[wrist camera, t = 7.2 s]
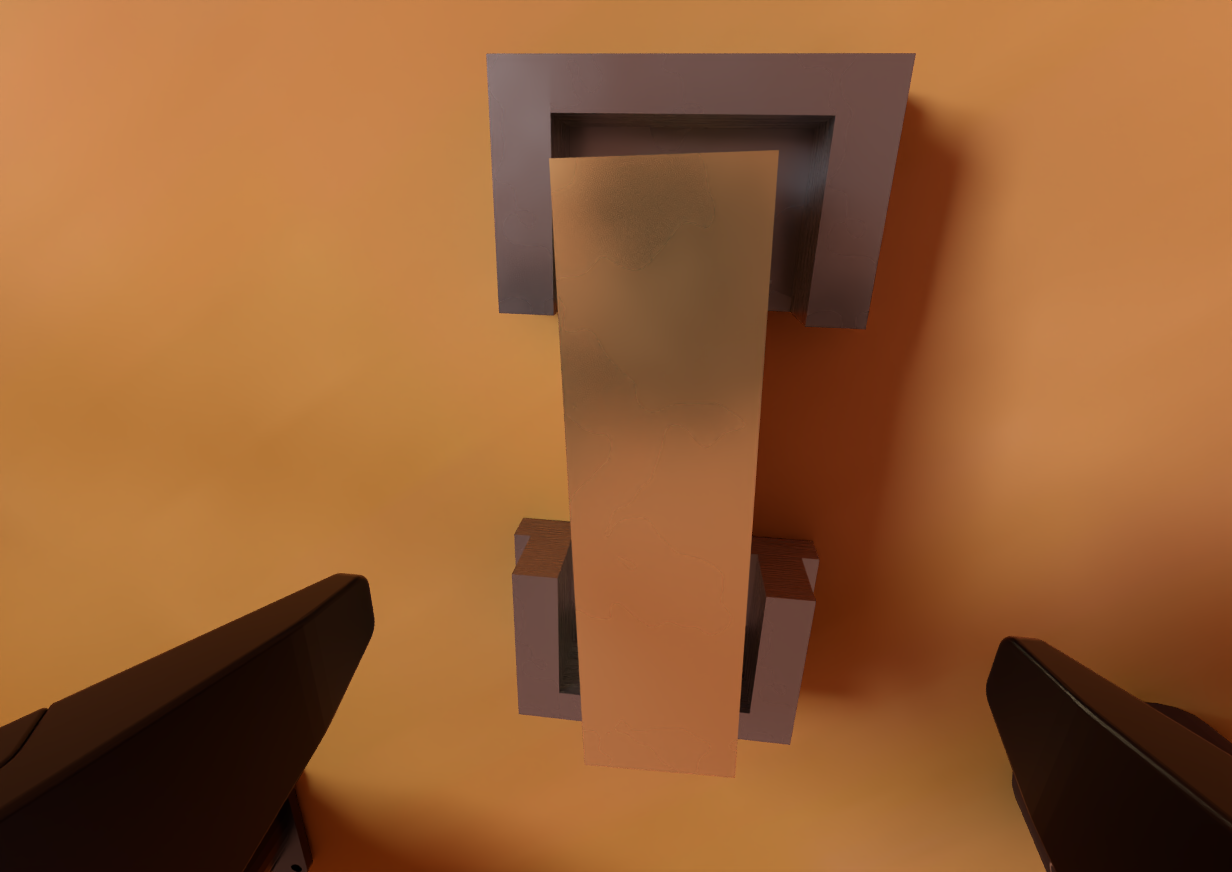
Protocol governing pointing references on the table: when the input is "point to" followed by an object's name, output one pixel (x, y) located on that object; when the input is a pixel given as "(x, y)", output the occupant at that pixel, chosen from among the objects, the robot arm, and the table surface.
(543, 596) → the grey frame
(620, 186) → the brown rectangular block
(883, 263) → the table surface
